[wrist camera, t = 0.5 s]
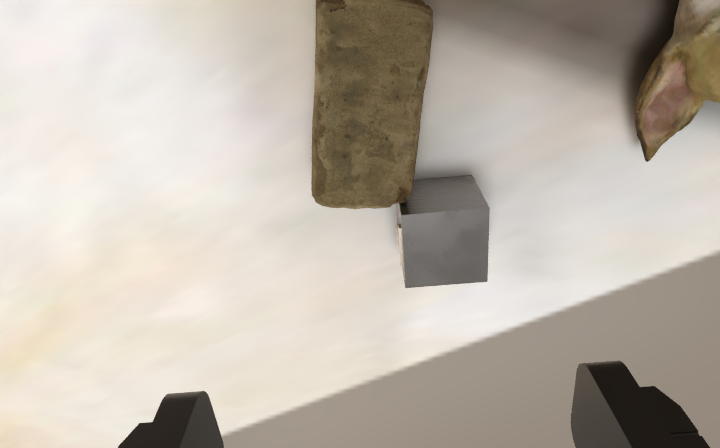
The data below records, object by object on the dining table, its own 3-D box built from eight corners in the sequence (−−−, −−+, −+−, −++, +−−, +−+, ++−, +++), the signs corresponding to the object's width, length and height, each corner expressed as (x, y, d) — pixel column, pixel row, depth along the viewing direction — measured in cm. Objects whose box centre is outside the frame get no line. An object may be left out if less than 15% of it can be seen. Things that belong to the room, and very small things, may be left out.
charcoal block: (471, 174, 34) (489, 207, 30) (471, 241, 36) (487, 281, 32) (392, 181, 34) (398, 215, 30) (397, 247, 37) (402, 288, 32)
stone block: (315, 179, 34) (309, 213, 30) (317, -21, 29) (310, -17, 24) (406, 182, 34) (414, 217, 30) (425, -15, 29) (438, -10, 24)
